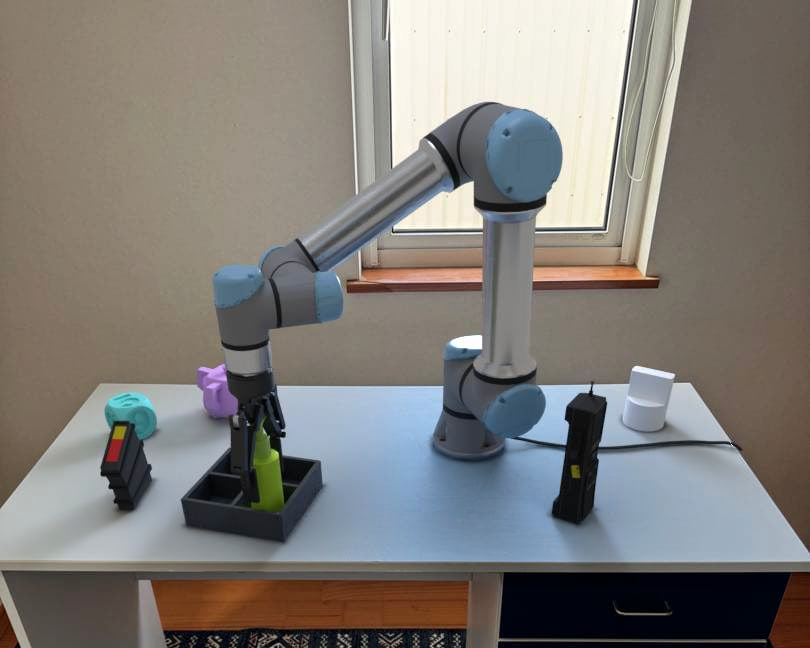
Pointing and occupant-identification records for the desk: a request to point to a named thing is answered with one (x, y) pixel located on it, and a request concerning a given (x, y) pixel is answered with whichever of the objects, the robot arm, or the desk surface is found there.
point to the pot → (216, 392)
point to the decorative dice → (132, 412)
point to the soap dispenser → (267, 474)
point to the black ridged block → (126, 465)
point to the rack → (228, 512)
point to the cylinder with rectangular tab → (647, 399)
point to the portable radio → (580, 457)
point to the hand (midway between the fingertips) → (264, 485)
